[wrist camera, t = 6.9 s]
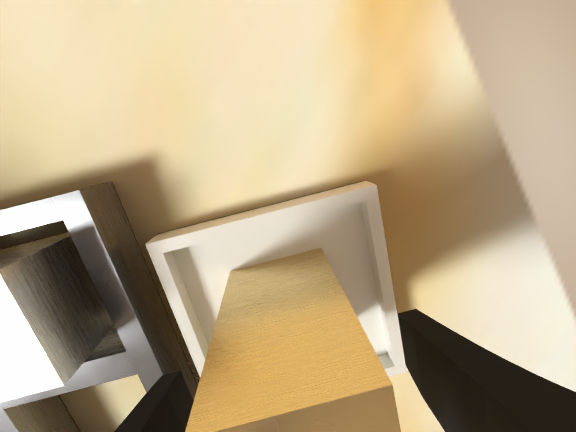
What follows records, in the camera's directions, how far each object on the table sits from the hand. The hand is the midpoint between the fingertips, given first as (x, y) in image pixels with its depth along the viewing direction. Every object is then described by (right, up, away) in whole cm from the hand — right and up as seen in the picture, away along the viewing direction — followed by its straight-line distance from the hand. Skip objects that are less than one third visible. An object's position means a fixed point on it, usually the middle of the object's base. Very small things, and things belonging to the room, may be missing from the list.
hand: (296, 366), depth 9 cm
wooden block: (0, +1, +3) cm, 4 cm away
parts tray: (0, +1, +4) cm, 4 cm away
